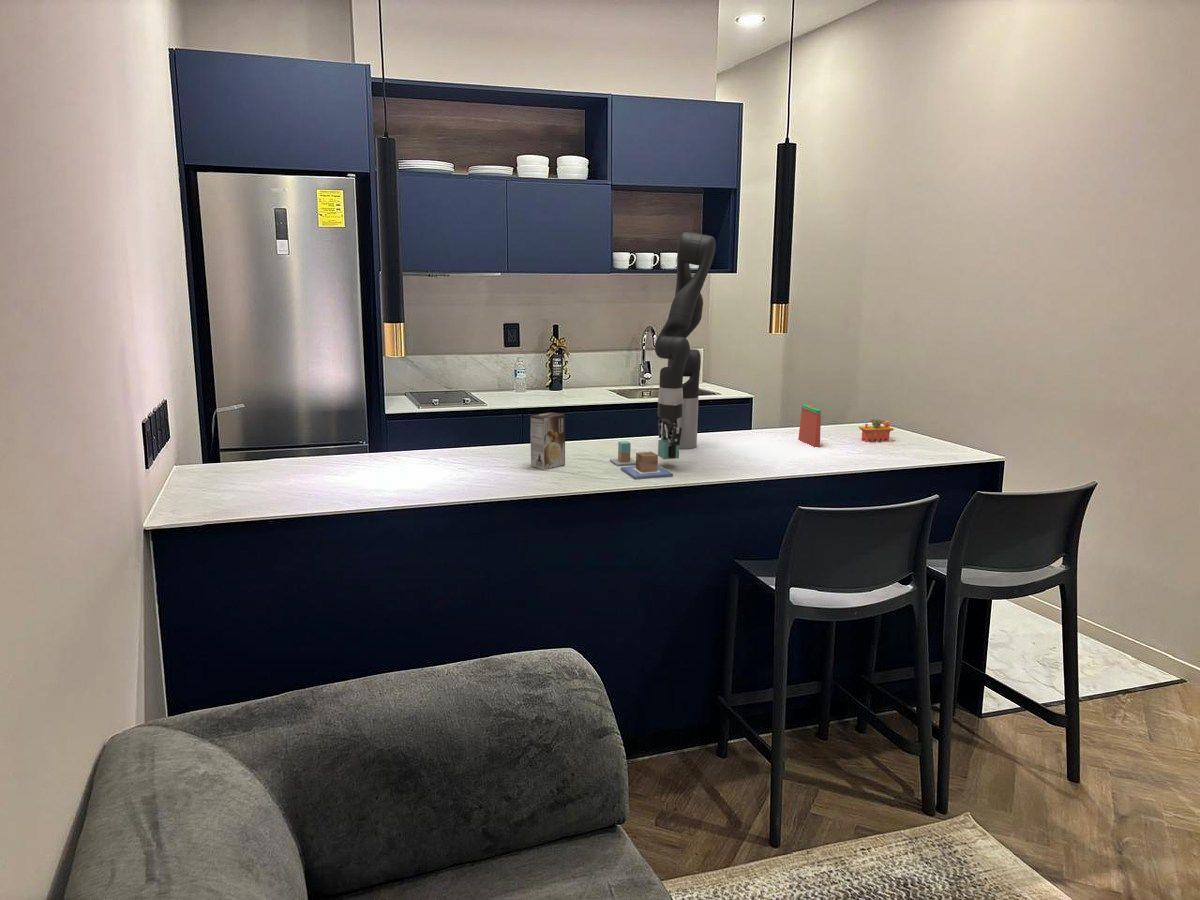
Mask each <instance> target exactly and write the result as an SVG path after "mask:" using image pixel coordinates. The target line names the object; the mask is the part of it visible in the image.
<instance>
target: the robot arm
mask: <svg viewBox="0 0 1200 900" xmlns="http://www.w3.org/2000/svg"><path fill="white" fill-rule="evenodd" d="M716 245H717V244H716V239H715V237H714V236H712V235H708V234H702V233H701V234H700V233H696V232H689V231H686V232H685V231H684V232H683V233H682V234H681V235H680V236H679V240H678V243H677V251H676V252H677V253H676V255H677V256H676V285H675V294H674V298H673V300H672V303H671V305H670V309H669V313H668V317H667V320H666V322H665V324H664V325H663V327H662V329H661V331H660V333H659V334H658V335H657V338H656V340H655V343H654V352H655V354H656V356H657V357H658V358H660V359H664V360H665V359H666V360H667V366H664V367H662V368H661V369H660V371H659V388H658V393H657V394H658V395H657V398H658V399H657V417H659V418H658V420H657V428H658V429H657V430H658V438H659V439H660V440H665V439H668V444H669V448H668V457H669V458H675V457H676V446H677V445H679V449H685V450H686V449H688V450H689V449H694V448H696V447H697V445H698V441H697V440H698V420H699V419H698V417H699V396H700V395H699V393H700V392H699V390H700V389H699V388H700V377H701V365H702V360H701V359H702V355H701V352H700V350H698V349H695V348H693V349H692V348H691V346H690V341H689V340H688V339H687V338H688V337H689V336H690V335H691V334H692V332H693V331H694V330H695V329H696V328H697V327H698V325H699V324H700V322H701V320H702V316H703V307H704V298H703V295H702V293H701V292H702V288H704V287H703V286H704V283H705V281H706V278H707V276H708V274H709V271H710V269H711V266H712V264H713V260H714V256H715V254H716ZM690 265H694V266H698V268H697V270H696V272H695V273H694V275H693V276H692V272H691V268H690ZM684 377H687V378H688V377H689V378H688V379H687V381H685V382H684V383H683V379H684Z"/></svg>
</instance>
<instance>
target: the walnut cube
mask: <svg viewBox="0 0 1200 900" xmlns="http://www.w3.org/2000/svg"><path fill="white" fill-rule="evenodd" d="M635 461H636V465H635V466H636V469H637V470H639V471H640V472H642V473H644V472H657V471H658V465H659V462H658V461H659V456H658V453H657V454H656V453H655V452H653V451H642V452H641V451H640V452H638V451H637V452H635Z"/></svg>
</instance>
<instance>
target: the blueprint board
mask: <svg viewBox="0 0 1200 900" xmlns="http://www.w3.org/2000/svg"><path fill="white" fill-rule="evenodd" d="M620 470H621V471H622V472H624V473H625V474H626V475H628V476H630V477H631V478H633V479H634V480H645V479H657V478H670V477H674V473H673V472H671V471H669V470H667V469H665V468H664V467H662V466H661V465H659V464H658V471H657V472H644V473H642V472H640V471H639V470H637V469H636V465H629V466H620Z"/></svg>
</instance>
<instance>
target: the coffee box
mask: <svg viewBox="0 0 1200 900" xmlns="http://www.w3.org/2000/svg"><path fill="white" fill-rule="evenodd" d="M565 415H566V414H565V413H558V412H554V411H552V412H551V411H549V412H543V413H539V414H533V415H530V416H529V418H530V420H529V421H530V422H529V424H530V429H529V431H530V434H529V435H530V467H532V466H534V467H533V468H535V467H538V468H537V469H540V468H542V469H541V470H544V469H545V470H548V469H547V468H549V469H553V468H557V467H561V466H565V465H566V428H565V427H566V417H565ZM552 467H553V468H552Z"/></svg>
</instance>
